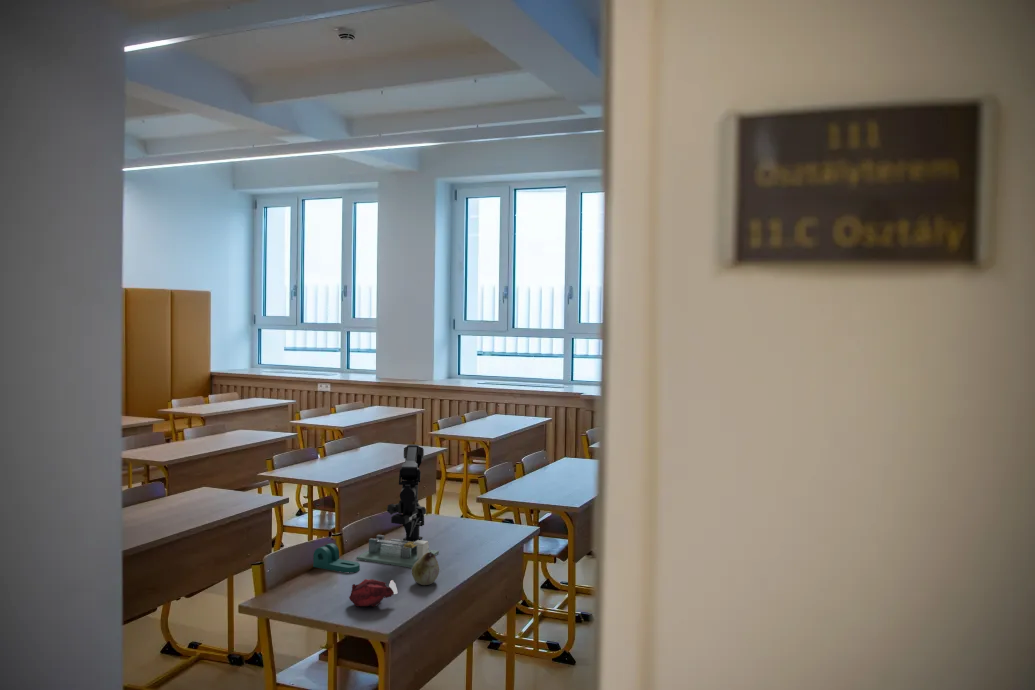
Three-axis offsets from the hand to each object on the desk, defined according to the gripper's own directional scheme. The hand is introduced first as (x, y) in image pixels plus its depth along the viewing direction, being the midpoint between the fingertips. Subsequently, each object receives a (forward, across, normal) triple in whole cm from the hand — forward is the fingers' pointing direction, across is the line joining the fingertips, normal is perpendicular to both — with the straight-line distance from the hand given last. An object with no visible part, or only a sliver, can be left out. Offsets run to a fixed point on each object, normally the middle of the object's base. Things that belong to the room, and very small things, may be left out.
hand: (408, 536), depth 291 cm
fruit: (+9, +23, +19) cm, 31 cm away
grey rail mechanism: (+8, 0, -7) cm, 10 cm away
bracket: (+9, +21, -19) cm, 29 cm away
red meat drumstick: (+9, +49, +13) cm, 51 cm away
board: (+9, 0, -5) cm, 10 cm away
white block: (+8, 0, +5) cm, 9 cm away
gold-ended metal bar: (+5, 0, -6) cm, 8 cm away
